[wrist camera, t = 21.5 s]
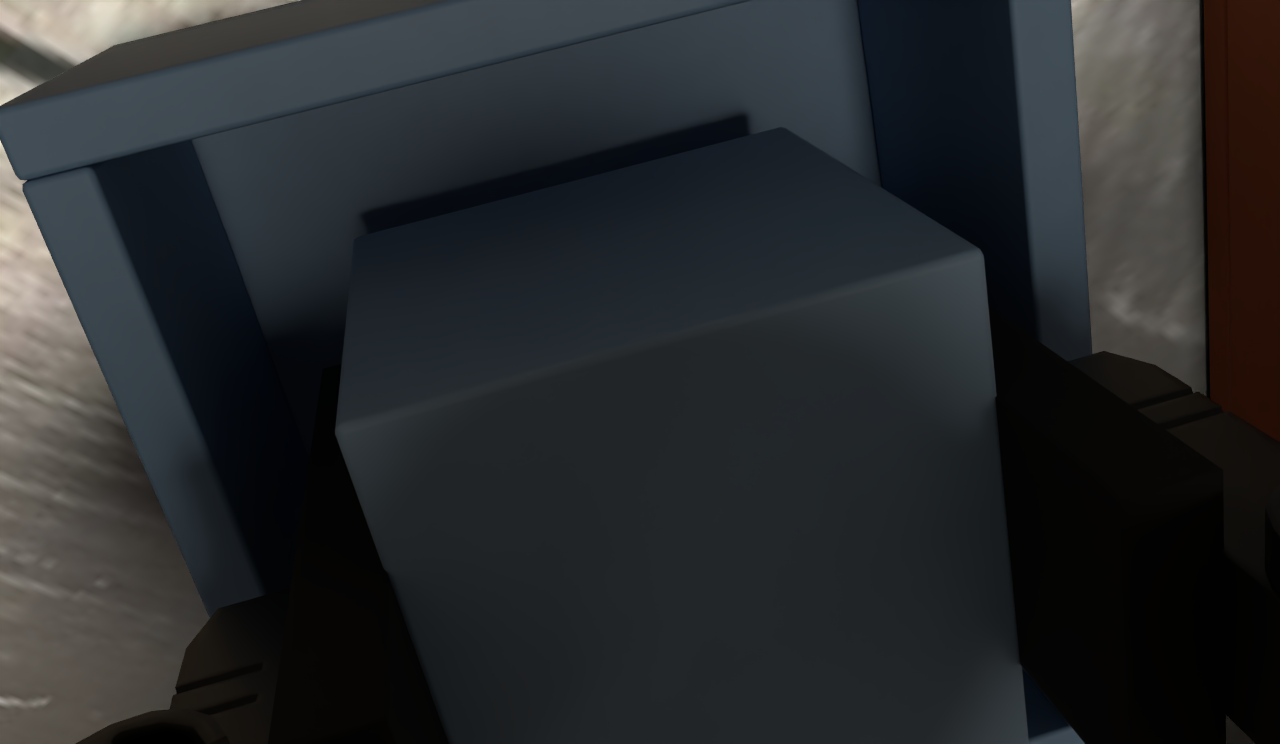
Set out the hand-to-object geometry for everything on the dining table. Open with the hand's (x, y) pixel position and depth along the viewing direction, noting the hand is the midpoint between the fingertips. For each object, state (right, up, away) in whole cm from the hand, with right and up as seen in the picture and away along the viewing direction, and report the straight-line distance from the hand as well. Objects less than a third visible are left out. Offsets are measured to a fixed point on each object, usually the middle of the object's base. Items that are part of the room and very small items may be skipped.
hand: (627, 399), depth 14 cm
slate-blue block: (0, 0, 0) cm, 0 cm away
